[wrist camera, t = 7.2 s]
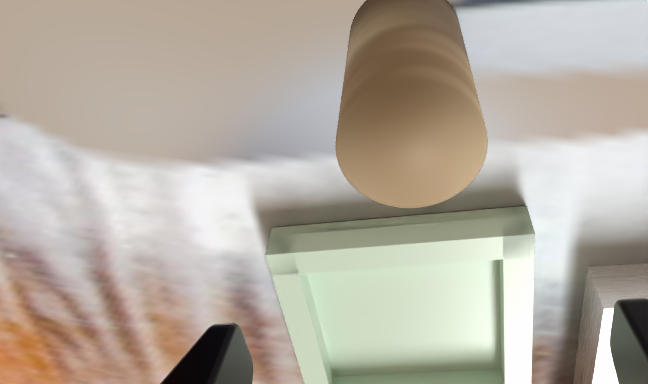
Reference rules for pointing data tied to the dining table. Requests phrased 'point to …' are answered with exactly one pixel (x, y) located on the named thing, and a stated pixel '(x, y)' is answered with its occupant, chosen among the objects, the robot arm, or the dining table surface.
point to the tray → (409, 297)
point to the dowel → (409, 105)
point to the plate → (604, 318)
